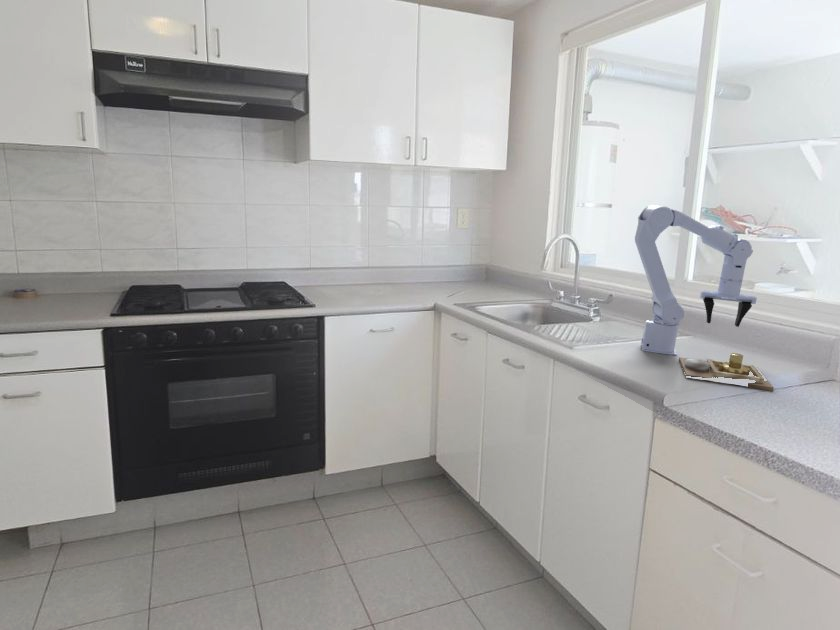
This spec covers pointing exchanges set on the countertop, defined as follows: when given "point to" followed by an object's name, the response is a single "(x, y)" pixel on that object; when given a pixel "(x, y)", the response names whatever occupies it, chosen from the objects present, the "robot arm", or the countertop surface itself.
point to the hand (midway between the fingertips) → (722, 324)
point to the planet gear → (734, 365)
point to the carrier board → (711, 370)
